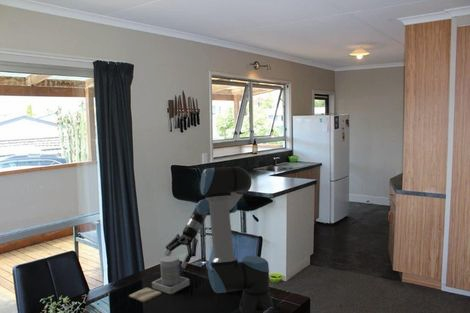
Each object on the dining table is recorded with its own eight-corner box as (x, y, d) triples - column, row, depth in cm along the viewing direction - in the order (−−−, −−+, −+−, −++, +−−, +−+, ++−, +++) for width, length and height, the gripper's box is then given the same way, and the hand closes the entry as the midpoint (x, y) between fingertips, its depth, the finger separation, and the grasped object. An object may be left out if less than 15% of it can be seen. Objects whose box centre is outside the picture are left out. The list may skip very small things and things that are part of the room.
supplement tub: (183, 287, 204) (182, 259, 202) (166, 292, 198) (164, 263, 197) (175, 281, 212) (174, 254, 210) (158, 285, 207) (157, 257, 205)
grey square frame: (189, 284, 206) (189, 279, 206) (170, 294, 196) (170, 288, 195) (171, 278, 215) (170, 273, 214) (151, 287, 204) (151, 282, 203)
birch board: (161, 293, 196) (161, 292, 196) (144, 302, 188) (143, 300, 188) (146, 288, 203) (146, 287, 203) (128, 296, 194) (128, 295, 194)
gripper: (212, 236, 212) (194, 273, 202) (179, 229, 227) (160, 263, 217) (205, 229, 207) (186, 266, 197) (171, 222, 222) (152, 256, 212)
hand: (173, 264), depth 207 cm, fingers open, 13 cm apart
